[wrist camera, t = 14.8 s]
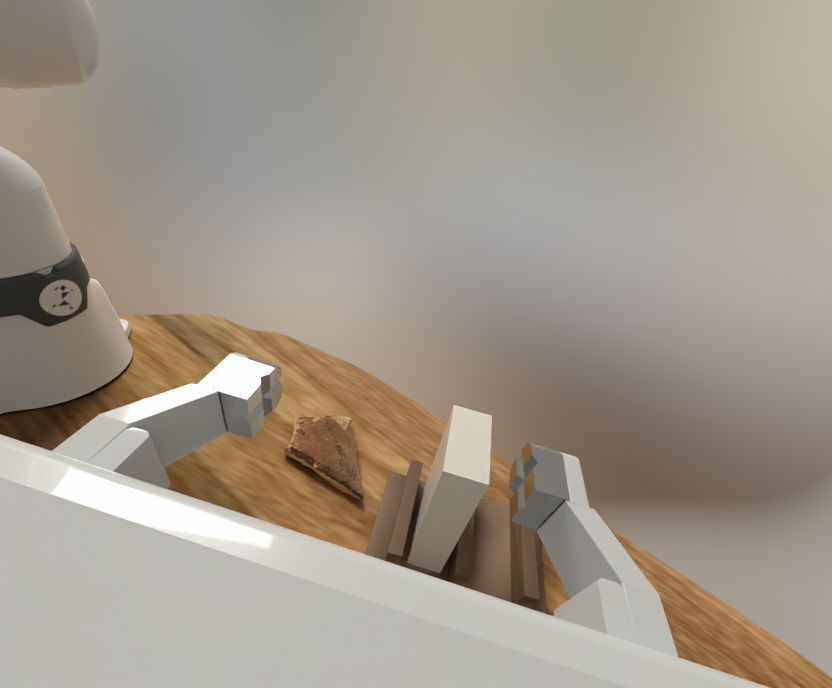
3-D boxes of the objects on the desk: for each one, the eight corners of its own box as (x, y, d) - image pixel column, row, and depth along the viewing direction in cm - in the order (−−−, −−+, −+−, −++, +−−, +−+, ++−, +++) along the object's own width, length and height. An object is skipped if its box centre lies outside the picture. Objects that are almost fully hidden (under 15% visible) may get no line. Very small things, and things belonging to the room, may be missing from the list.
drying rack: (361, 566, 30) (366, 545, 28) (389, 477, 37) (394, 454, 35) (541, 623, 29) (562, 607, 27) (533, 520, 36) (549, 500, 34)
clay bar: (406, 562, 30) (442, 470, 22) (420, 499, 35) (453, 405, 26) (439, 573, 30) (489, 484, 21) (448, 508, 34) (491, 415, 26)
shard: (361, 506, 35) (363, 497, 34) (281, 518, 32) (280, 508, 31) (351, 422, 43) (352, 413, 42) (286, 427, 41) (286, 417, 40)
